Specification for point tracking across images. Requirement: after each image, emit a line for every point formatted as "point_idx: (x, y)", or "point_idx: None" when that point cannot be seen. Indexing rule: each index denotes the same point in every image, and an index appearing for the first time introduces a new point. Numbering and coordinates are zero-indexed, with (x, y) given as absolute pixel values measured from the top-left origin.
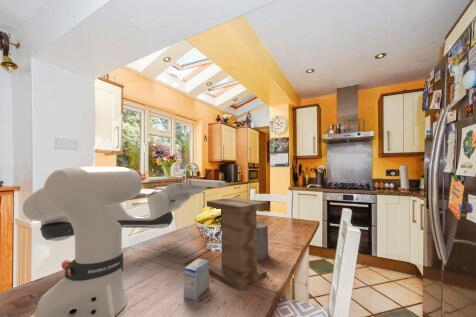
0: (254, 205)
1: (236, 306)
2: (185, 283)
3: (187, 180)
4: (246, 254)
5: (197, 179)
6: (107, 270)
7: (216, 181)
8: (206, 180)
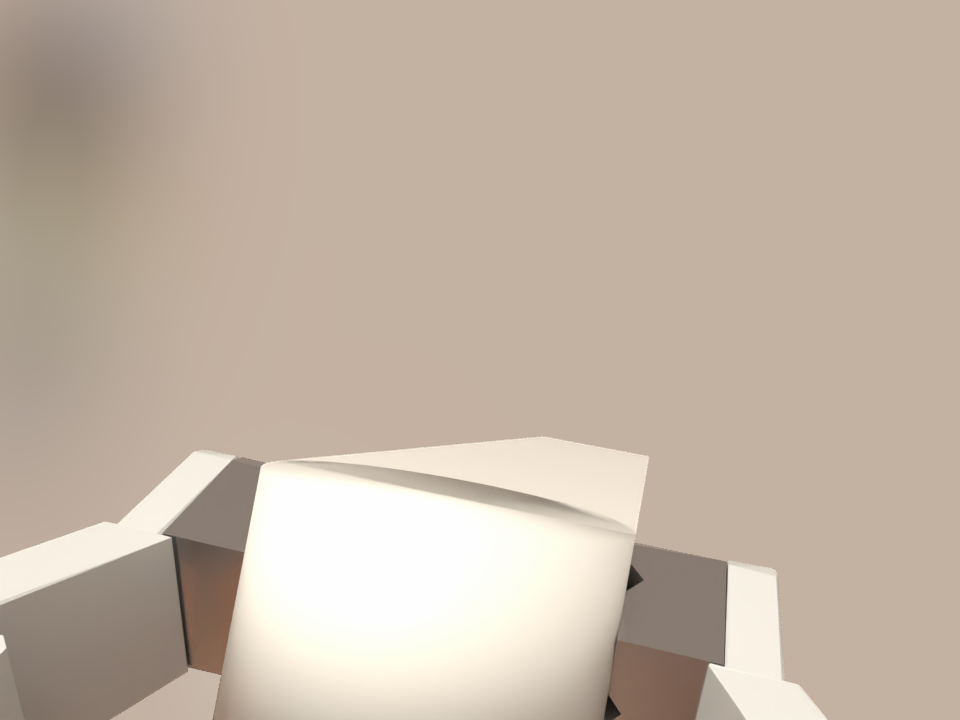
0: None
1: None
2: None
3: (775, 583)
4: None
5: (358, 458)
6: None
7: (648, 457)
8: (588, 459)
